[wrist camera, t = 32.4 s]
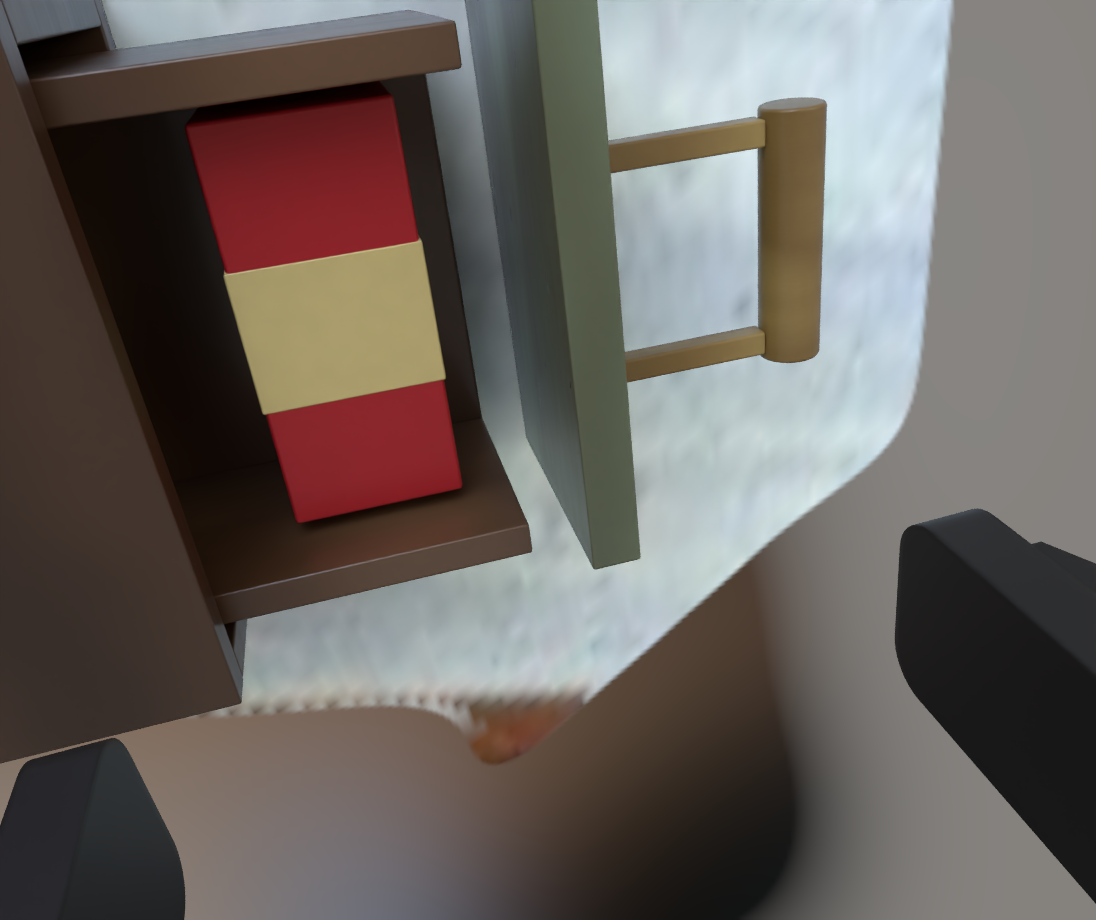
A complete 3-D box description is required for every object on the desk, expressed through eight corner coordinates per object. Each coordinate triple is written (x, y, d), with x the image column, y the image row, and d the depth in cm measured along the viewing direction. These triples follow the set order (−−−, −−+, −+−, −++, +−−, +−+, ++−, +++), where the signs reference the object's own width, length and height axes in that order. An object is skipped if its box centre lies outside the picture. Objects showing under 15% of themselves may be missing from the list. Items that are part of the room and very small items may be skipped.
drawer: (728, -68, 23) (893, -87, 17) (736, 393, 30) (859, 507, 23) (-139, 45, 20) (-339, 74, 14) (73, 535, 26) (3, 712, 20)
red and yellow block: (294, 442, 26) (294, 526, 22) (200, 98, 21) (179, 125, 17) (440, 413, 26) (465, 489, 22) (377, 73, 22) (396, 93, 18)
